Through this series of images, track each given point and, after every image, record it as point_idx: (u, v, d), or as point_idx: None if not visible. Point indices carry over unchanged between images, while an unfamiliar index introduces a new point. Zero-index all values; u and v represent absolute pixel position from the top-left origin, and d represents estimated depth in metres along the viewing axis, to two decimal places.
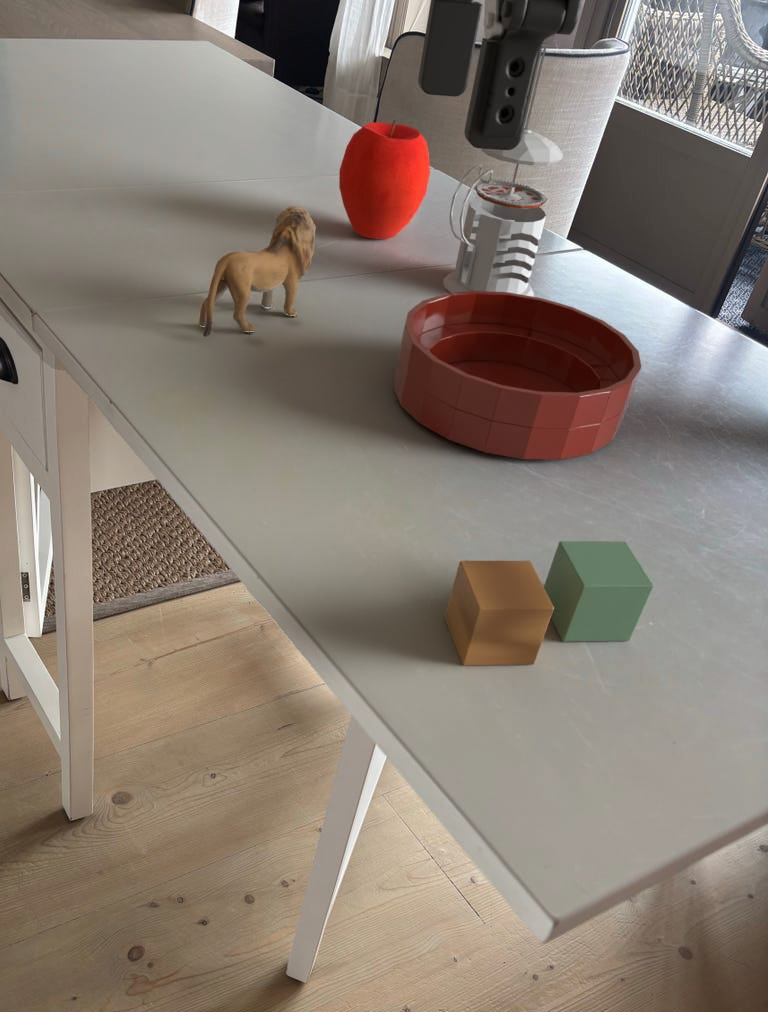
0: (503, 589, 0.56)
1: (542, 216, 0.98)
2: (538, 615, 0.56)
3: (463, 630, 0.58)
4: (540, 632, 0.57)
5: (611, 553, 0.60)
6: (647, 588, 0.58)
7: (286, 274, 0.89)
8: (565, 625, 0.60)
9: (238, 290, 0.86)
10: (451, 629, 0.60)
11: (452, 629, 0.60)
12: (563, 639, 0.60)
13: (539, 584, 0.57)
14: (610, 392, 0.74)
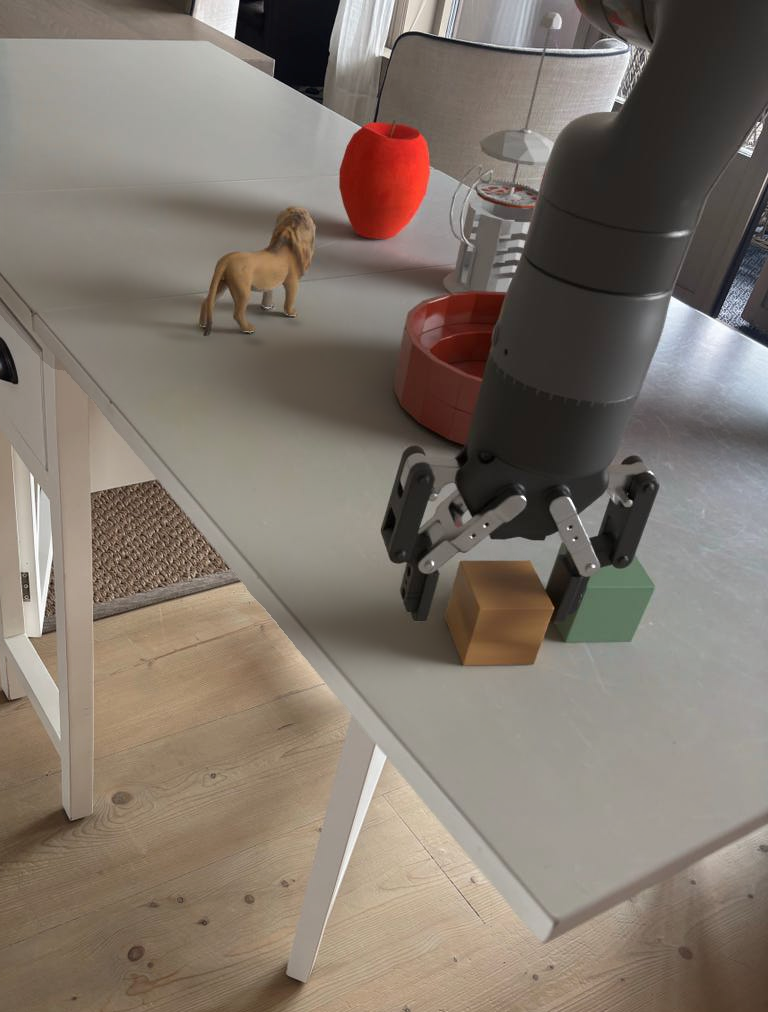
0: (503, 589, 0.56)
1: None
2: (538, 615, 0.56)
3: (463, 630, 0.58)
4: (540, 632, 0.57)
5: None
6: (649, 589, 0.58)
7: (286, 274, 0.89)
8: (567, 626, 0.60)
9: (238, 290, 0.86)
10: (451, 629, 0.60)
11: (452, 629, 0.60)
12: (565, 640, 0.61)
13: (539, 584, 0.57)
14: None
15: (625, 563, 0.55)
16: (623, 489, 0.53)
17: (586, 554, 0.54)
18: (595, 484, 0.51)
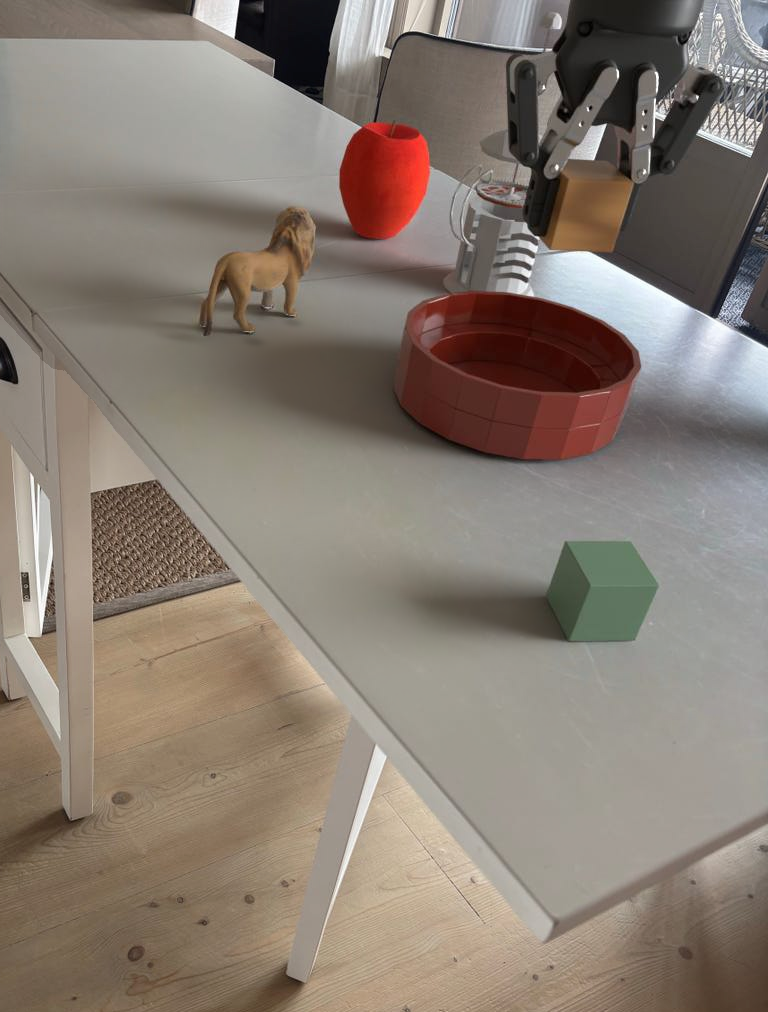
0: (587, 172, 0.63)
1: None
2: (619, 191, 0.63)
3: None
4: (620, 212, 0.64)
5: (617, 553, 0.60)
6: (653, 588, 0.58)
7: (286, 274, 0.89)
8: (571, 625, 0.60)
9: (238, 290, 0.86)
10: None
11: None
12: (569, 639, 0.61)
13: (618, 171, 0.64)
14: (610, 392, 0.74)
15: (671, 167, 0.63)
16: (692, 87, 0.61)
17: (637, 157, 0.62)
18: (678, 64, 0.59)
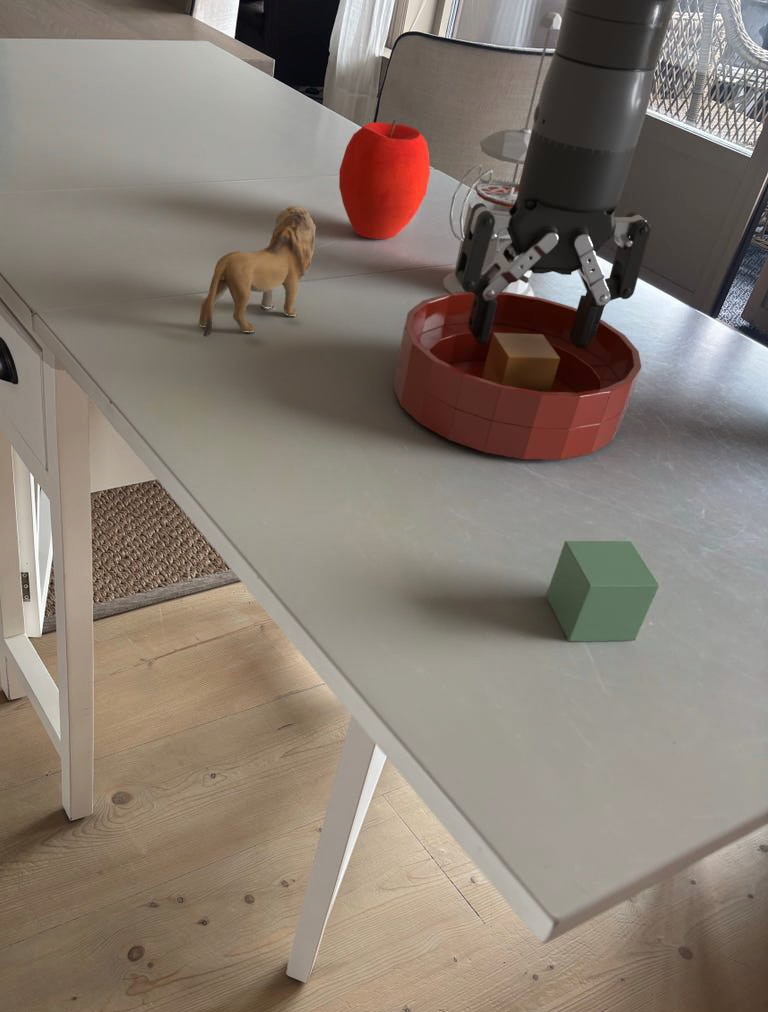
0: (524, 348, 0.81)
1: None
2: (549, 364, 0.80)
3: (495, 380, 0.82)
4: (550, 378, 0.81)
5: (617, 553, 0.60)
6: (653, 588, 0.58)
7: (286, 274, 0.89)
8: (571, 625, 0.60)
9: (238, 290, 0.86)
10: None
11: None
12: (569, 639, 0.60)
13: (549, 346, 0.81)
14: (610, 392, 0.74)
15: (628, 293, 0.78)
16: (626, 234, 0.75)
17: (600, 286, 0.77)
18: (606, 227, 0.74)
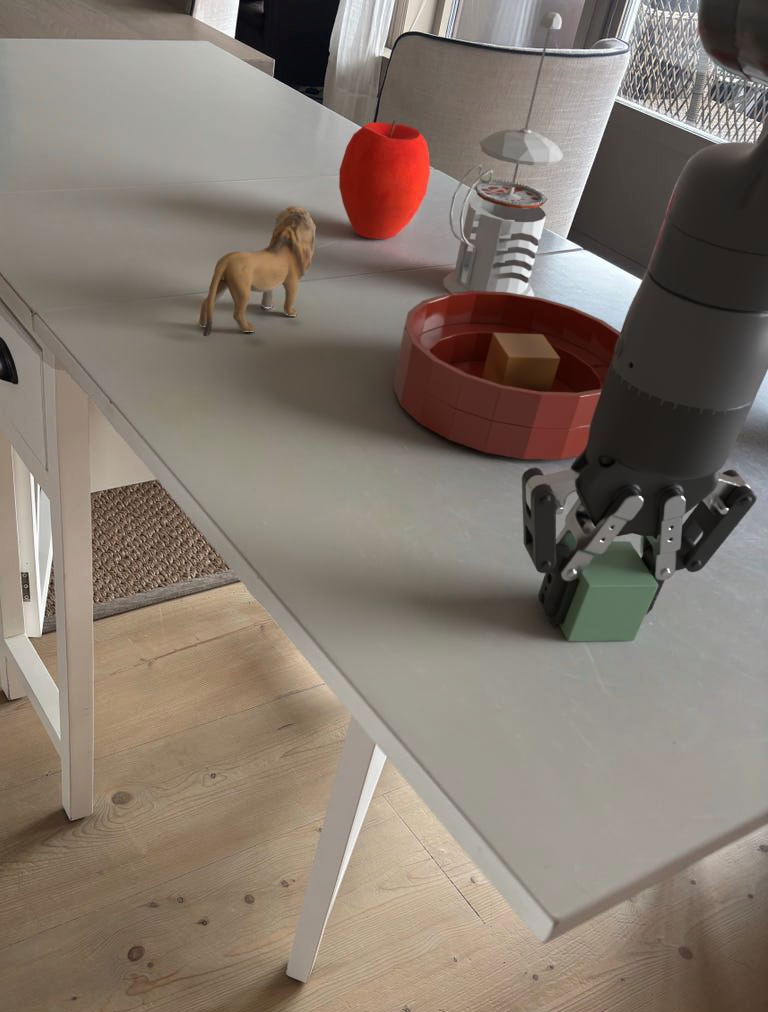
0: (524, 348, 0.81)
1: (542, 216, 0.98)
2: (549, 364, 0.80)
3: (495, 380, 0.82)
4: (550, 378, 0.81)
5: (616, 553, 0.60)
6: (652, 588, 0.58)
7: (286, 274, 0.89)
8: (570, 625, 0.60)
9: (238, 290, 0.86)
10: None
11: None
12: (568, 639, 0.60)
13: (549, 346, 0.81)
14: None
15: (698, 567, 0.59)
16: (722, 497, 0.57)
17: (662, 559, 0.58)
18: (707, 484, 0.55)
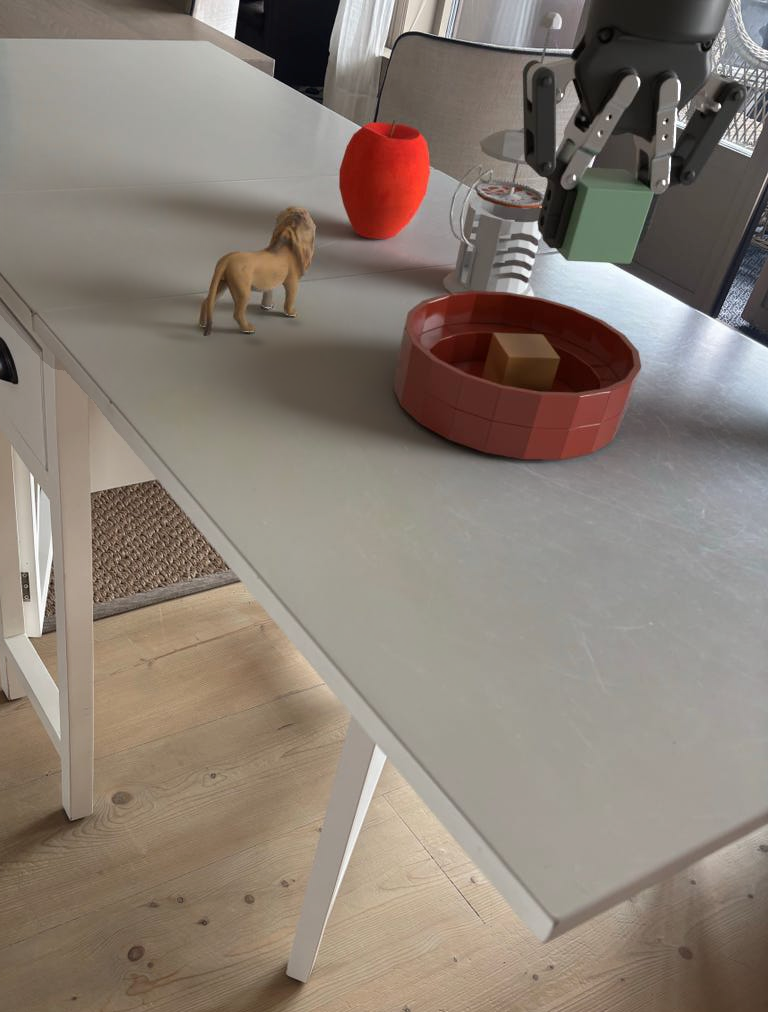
0: (524, 348, 0.81)
1: None
2: (549, 364, 0.80)
3: (495, 380, 0.82)
4: (550, 378, 0.81)
5: (613, 174, 0.63)
6: (648, 195, 0.61)
7: (286, 274, 0.89)
8: (569, 242, 0.62)
9: (238, 290, 0.86)
10: None
11: None
12: (567, 258, 0.63)
13: (549, 346, 0.81)
14: (610, 392, 0.74)
15: (691, 178, 0.61)
16: (714, 95, 0.59)
17: (657, 167, 0.61)
18: (700, 72, 0.57)
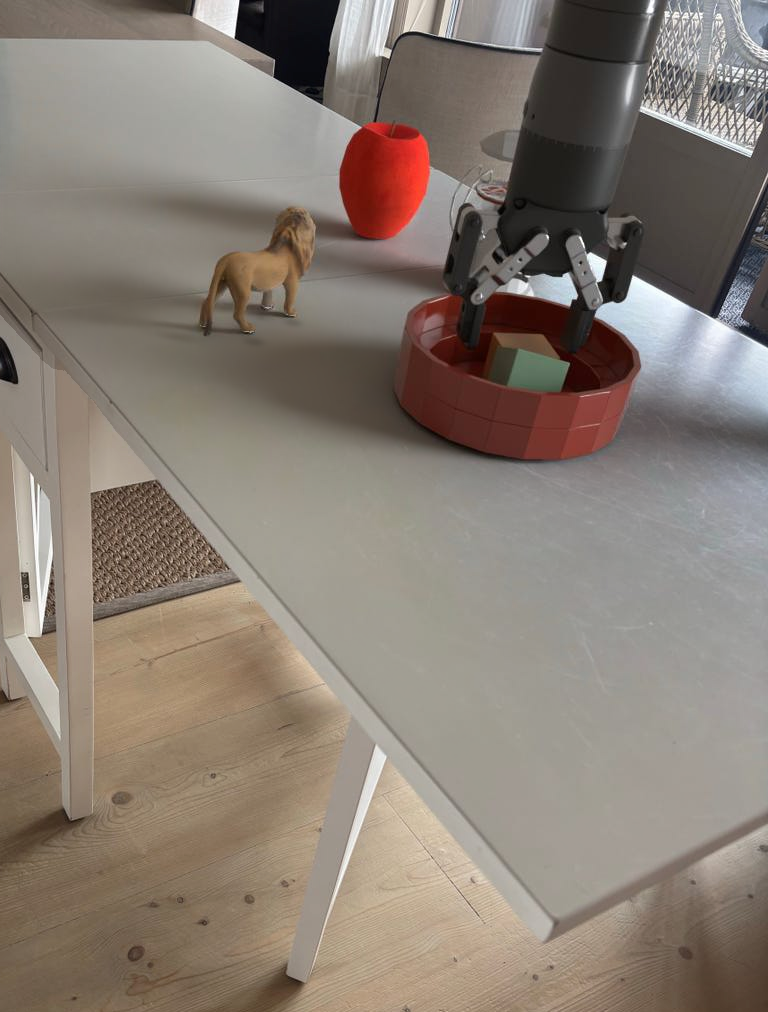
0: (524, 347, 0.81)
1: None
2: None
3: None
4: None
5: (547, 375, 0.76)
6: None
7: (286, 274, 0.89)
8: None
9: (238, 290, 0.86)
10: None
11: None
12: None
13: (549, 346, 0.81)
14: (610, 392, 0.74)
15: (621, 297, 0.75)
16: (619, 235, 0.72)
17: (592, 290, 0.74)
18: (598, 228, 0.71)
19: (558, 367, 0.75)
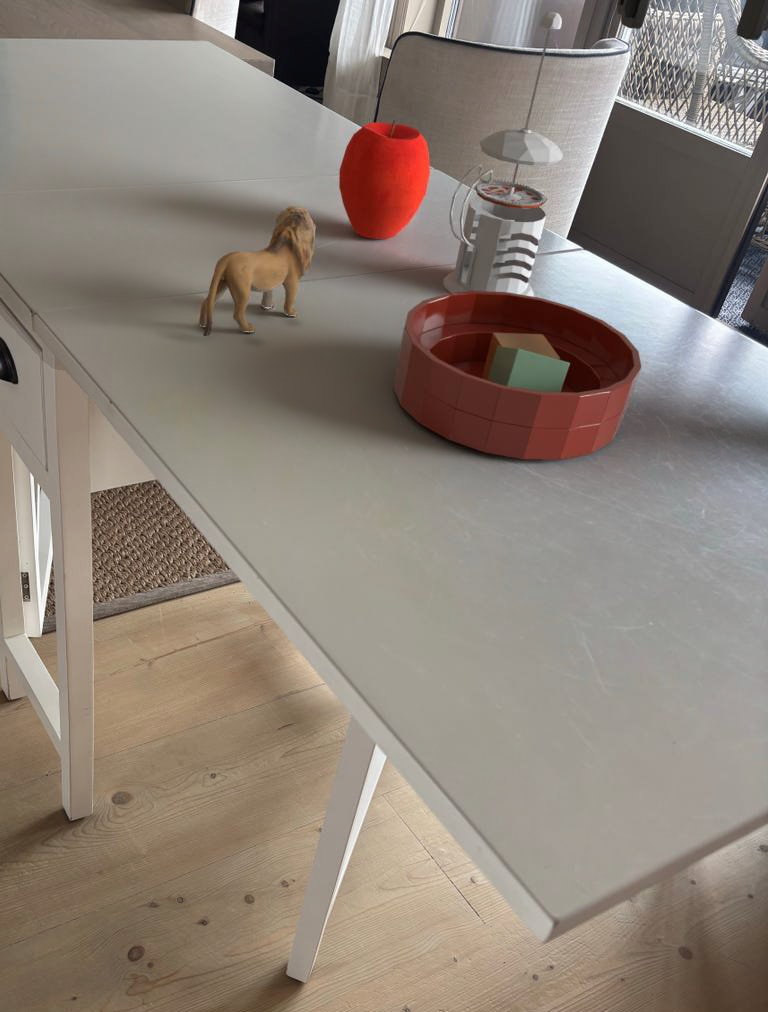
0: (524, 347, 0.81)
1: (542, 216, 0.98)
2: None
3: None
4: None
5: (547, 375, 0.76)
6: None
7: (286, 274, 0.89)
8: None
9: (238, 290, 0.86)
10: None
11: None
12: None
13: (549, 346, 0.81)
14: (610, 392, 0.74)
15: None
16: None
17: None
18: None
19: (558, 367, 0.75)
